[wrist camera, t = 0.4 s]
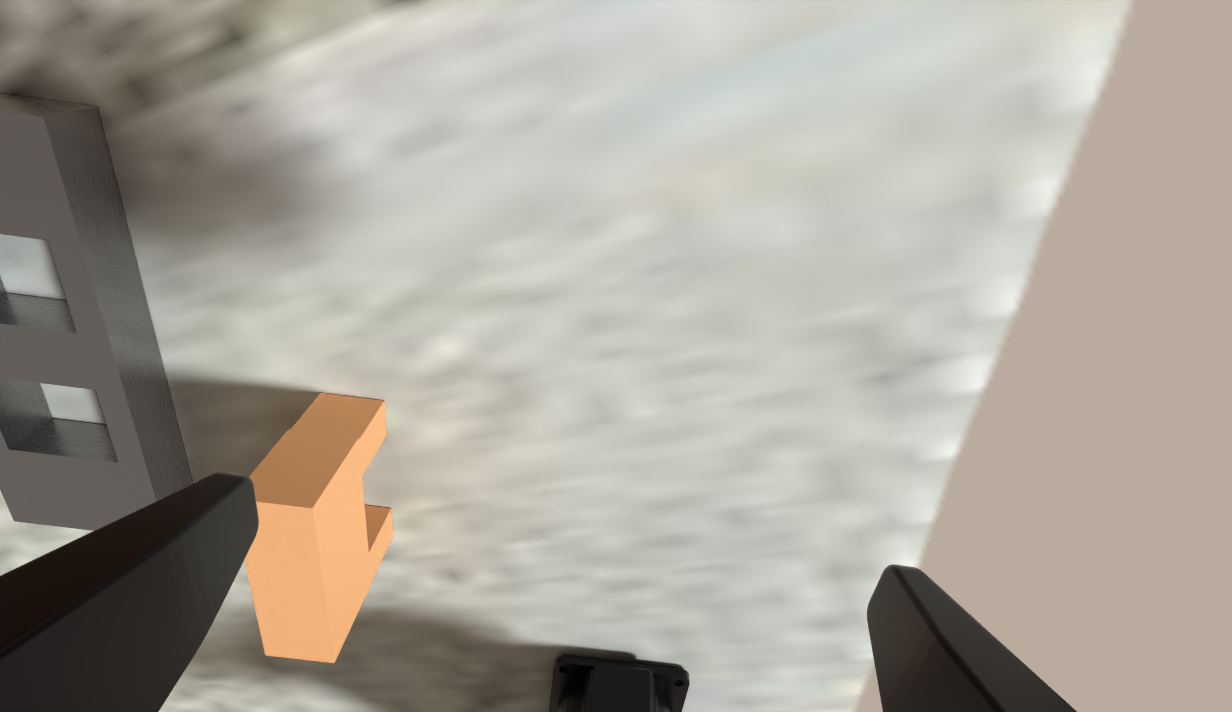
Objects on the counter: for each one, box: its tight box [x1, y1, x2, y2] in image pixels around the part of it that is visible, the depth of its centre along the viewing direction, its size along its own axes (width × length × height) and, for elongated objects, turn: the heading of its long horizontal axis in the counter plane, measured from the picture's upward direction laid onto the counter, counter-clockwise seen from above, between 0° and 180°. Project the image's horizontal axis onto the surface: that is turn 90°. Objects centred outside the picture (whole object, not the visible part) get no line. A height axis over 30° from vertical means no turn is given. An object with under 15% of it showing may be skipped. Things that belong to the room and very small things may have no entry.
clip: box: [244, 393, 393, 663], centre depth 23 cm, size 7×2×6 cm, turn 173°
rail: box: [0, 93, 193, 531], centre depth 23 cm, size 16×6×2 cm, turn 173°
